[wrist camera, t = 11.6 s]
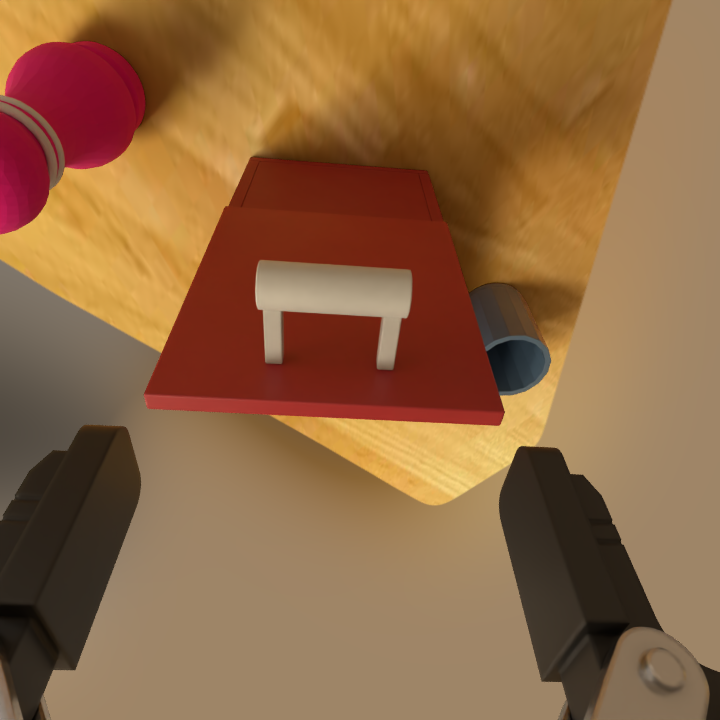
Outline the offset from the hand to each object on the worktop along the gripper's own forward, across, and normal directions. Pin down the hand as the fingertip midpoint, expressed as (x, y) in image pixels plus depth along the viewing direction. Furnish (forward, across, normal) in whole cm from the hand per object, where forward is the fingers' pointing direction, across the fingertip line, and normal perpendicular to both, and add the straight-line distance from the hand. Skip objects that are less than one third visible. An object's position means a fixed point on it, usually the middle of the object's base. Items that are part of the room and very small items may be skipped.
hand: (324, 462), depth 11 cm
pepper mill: (+34, +17, +1) cm, 38 cm away
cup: (+34, -15, +18) cm, 41 cm away
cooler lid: (+15, 0, +6) cm, 16 cm away
